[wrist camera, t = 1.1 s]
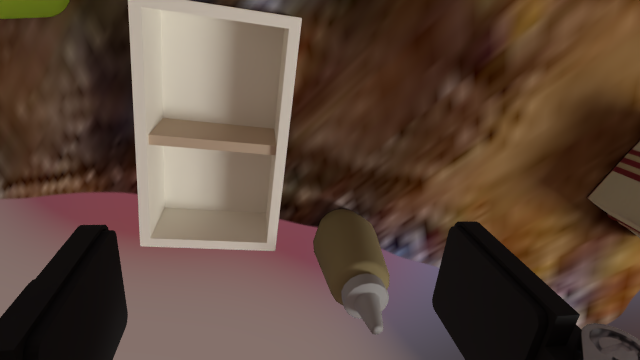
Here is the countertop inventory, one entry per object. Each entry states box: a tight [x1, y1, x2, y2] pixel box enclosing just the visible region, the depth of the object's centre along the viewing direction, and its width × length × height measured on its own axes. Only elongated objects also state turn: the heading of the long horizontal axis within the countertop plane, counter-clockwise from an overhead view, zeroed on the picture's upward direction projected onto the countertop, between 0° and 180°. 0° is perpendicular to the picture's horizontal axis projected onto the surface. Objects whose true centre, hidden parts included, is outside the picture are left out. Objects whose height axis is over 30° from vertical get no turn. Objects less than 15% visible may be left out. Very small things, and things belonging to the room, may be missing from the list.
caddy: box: [128, 0, 302, 251], centre depth 39 cm, size 24×14×8 cm, turn 172°
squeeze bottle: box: [313, 209, 389, 334], centre depth 43 cm, size 8×8×18 cm
